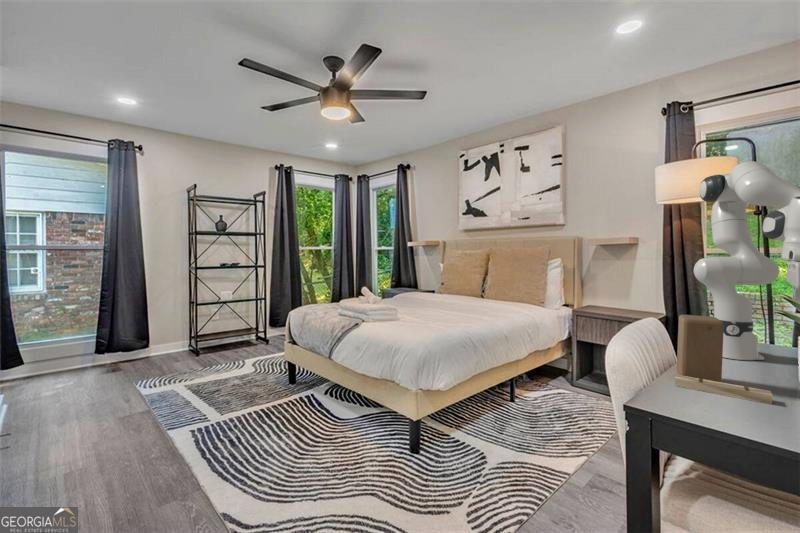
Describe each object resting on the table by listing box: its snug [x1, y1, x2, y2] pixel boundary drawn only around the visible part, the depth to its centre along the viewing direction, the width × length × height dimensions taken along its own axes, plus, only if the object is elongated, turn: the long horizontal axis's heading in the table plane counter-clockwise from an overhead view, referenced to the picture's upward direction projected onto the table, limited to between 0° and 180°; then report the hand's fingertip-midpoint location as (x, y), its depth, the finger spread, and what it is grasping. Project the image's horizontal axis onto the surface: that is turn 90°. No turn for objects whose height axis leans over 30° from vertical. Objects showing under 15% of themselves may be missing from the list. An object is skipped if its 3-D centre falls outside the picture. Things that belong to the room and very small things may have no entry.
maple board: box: [674, 374, 773, 405], centre depth 107 cm, size 4×21×3 cm, turn 50°
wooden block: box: [676, 314, 724, 382], centre depth 118 cm, size 10×10×20 cm
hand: (797, 301), depth 105 cm, fingers closed
